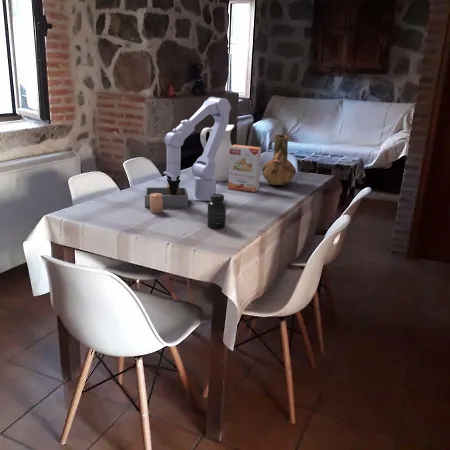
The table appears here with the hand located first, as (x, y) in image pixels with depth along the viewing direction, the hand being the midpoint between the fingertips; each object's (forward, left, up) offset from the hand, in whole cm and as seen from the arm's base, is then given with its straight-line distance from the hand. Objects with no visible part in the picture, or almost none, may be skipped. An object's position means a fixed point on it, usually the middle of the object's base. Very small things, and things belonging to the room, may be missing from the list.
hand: (173, 193), depth 203 cm
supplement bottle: (-15, +31, -4) cm, 35 cm away
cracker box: (-34, -23, -4) cm, 41 cm away
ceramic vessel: (-53, -32, -4) cm, 62 cm away
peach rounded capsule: (+7, +12, -4) cm, 15 cm away
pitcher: (-22, -42, -4) cm, 48 cm away
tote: (+3, 0, -4) cm, 5 cm away
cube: (0, 0, -1) cm, 1 cm away
